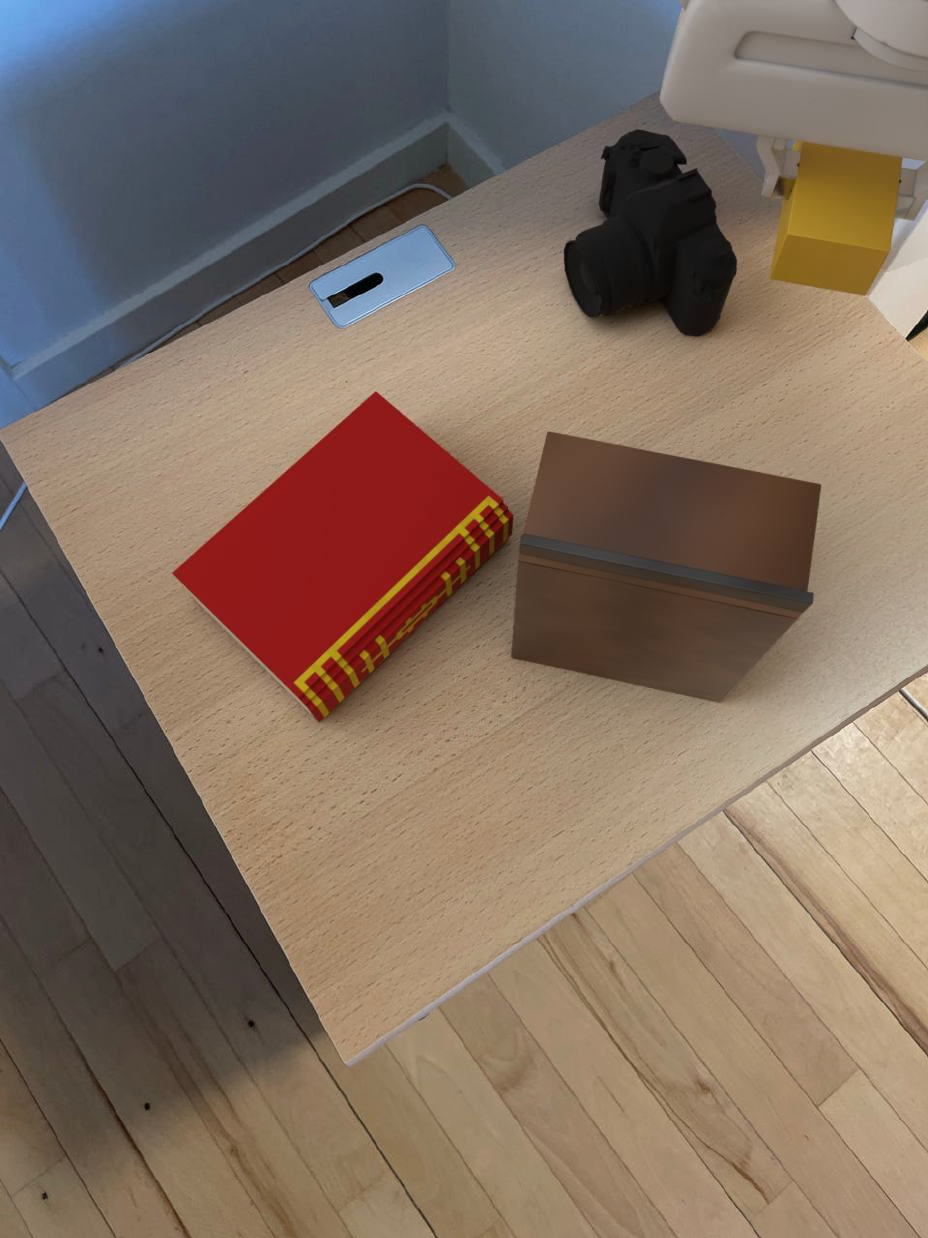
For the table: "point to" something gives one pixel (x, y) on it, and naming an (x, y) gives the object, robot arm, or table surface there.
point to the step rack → (638, 632)
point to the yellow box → (837, 219)
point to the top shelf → (673, 524)
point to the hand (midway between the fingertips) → (838, 198)
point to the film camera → (652, 239)
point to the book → (346, 554)
